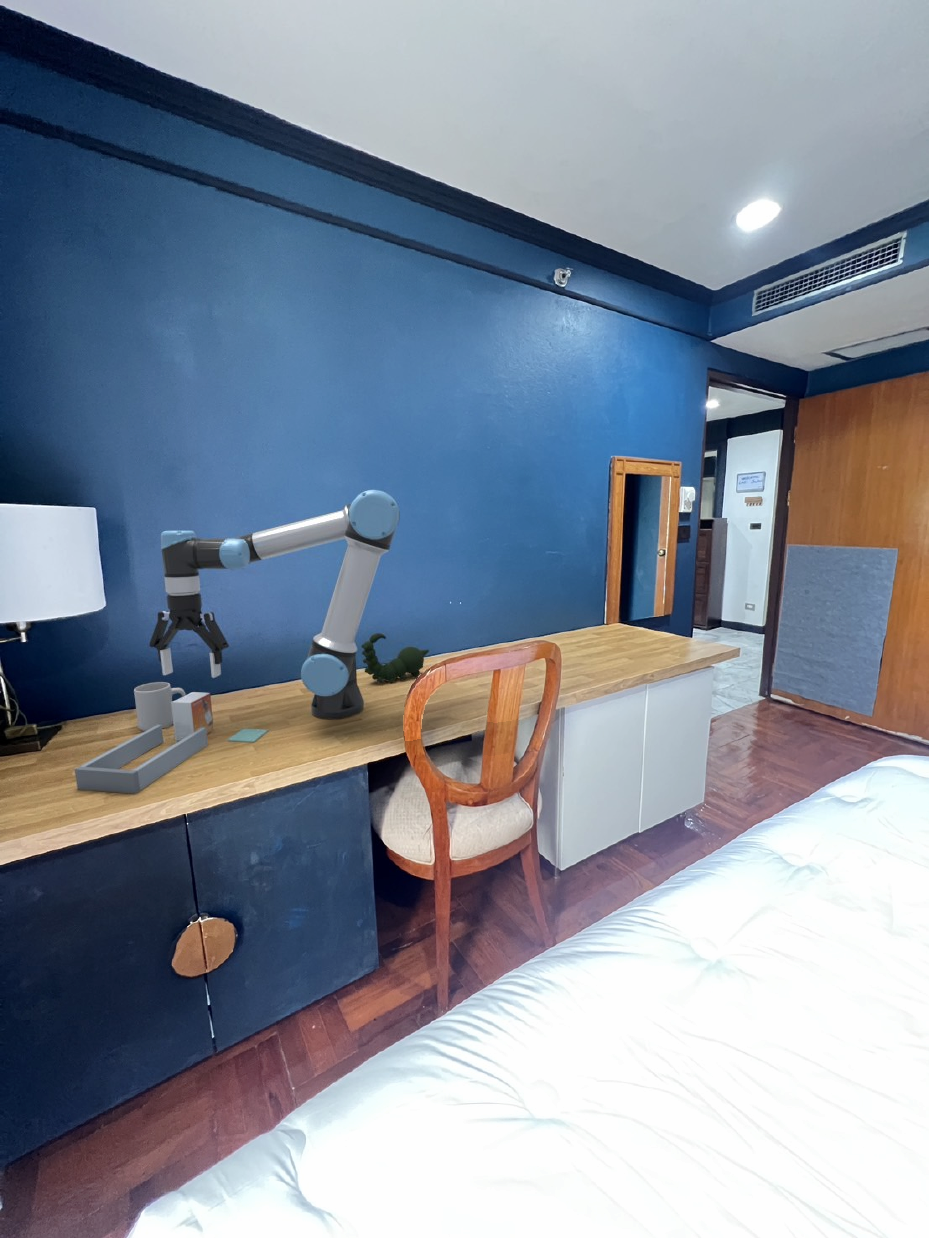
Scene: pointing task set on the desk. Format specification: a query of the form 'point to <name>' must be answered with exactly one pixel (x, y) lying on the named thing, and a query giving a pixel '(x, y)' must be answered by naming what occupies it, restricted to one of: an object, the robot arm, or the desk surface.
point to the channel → (112, 779)
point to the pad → (248, 735)
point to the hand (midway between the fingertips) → (192, 674)
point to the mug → (155, 704)
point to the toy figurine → (392, 662)
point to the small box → (192, 714)
